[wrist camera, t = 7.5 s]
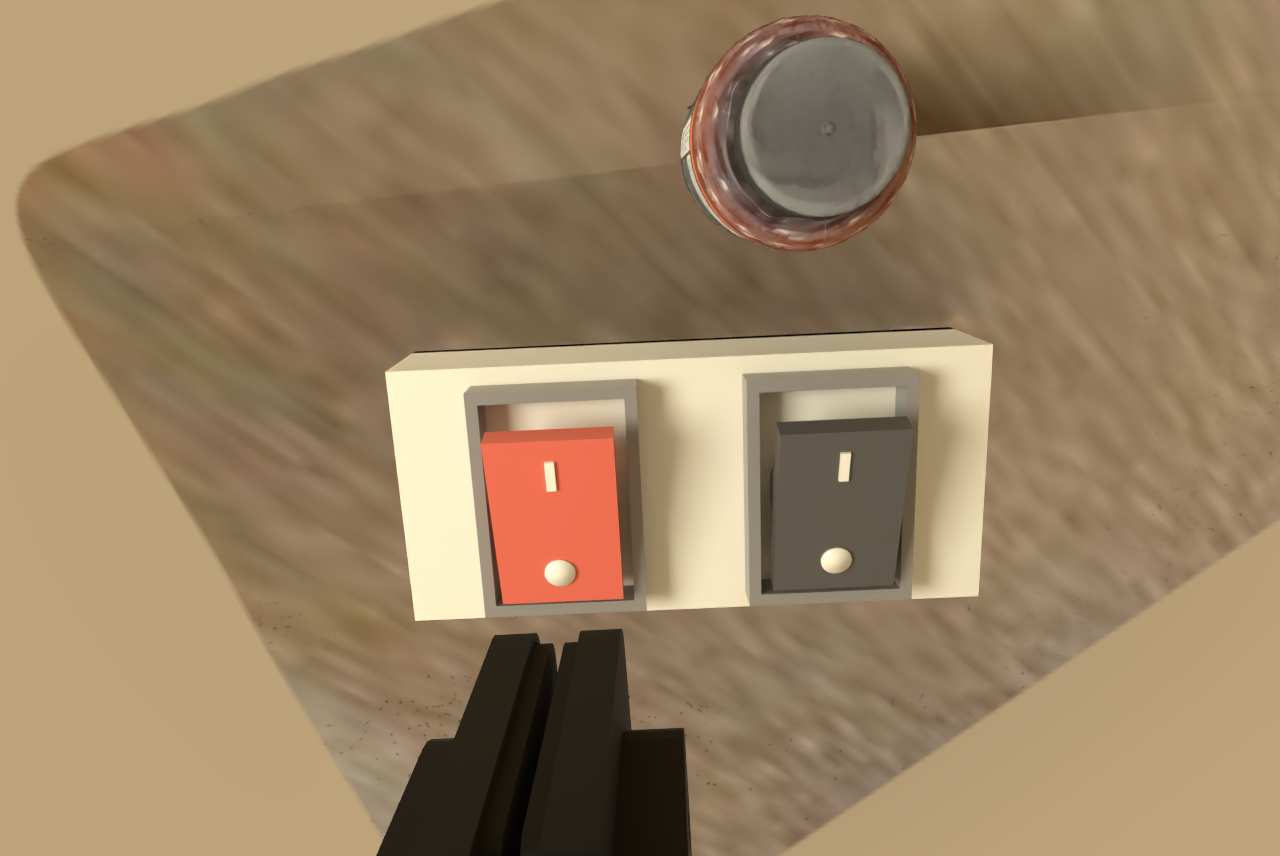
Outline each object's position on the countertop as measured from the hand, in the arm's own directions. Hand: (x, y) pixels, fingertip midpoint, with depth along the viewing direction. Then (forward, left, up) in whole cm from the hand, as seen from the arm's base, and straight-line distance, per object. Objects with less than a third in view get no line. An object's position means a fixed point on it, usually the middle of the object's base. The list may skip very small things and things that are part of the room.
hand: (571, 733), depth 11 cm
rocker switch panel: (-3, +3, -22) cm, 23 cm away
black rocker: (-7, +3, -18) cm, 20 cm away
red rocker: (+2, +3, -17) cm, 17 cm away
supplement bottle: (-6, -8, -23) cm, 25 cm away
